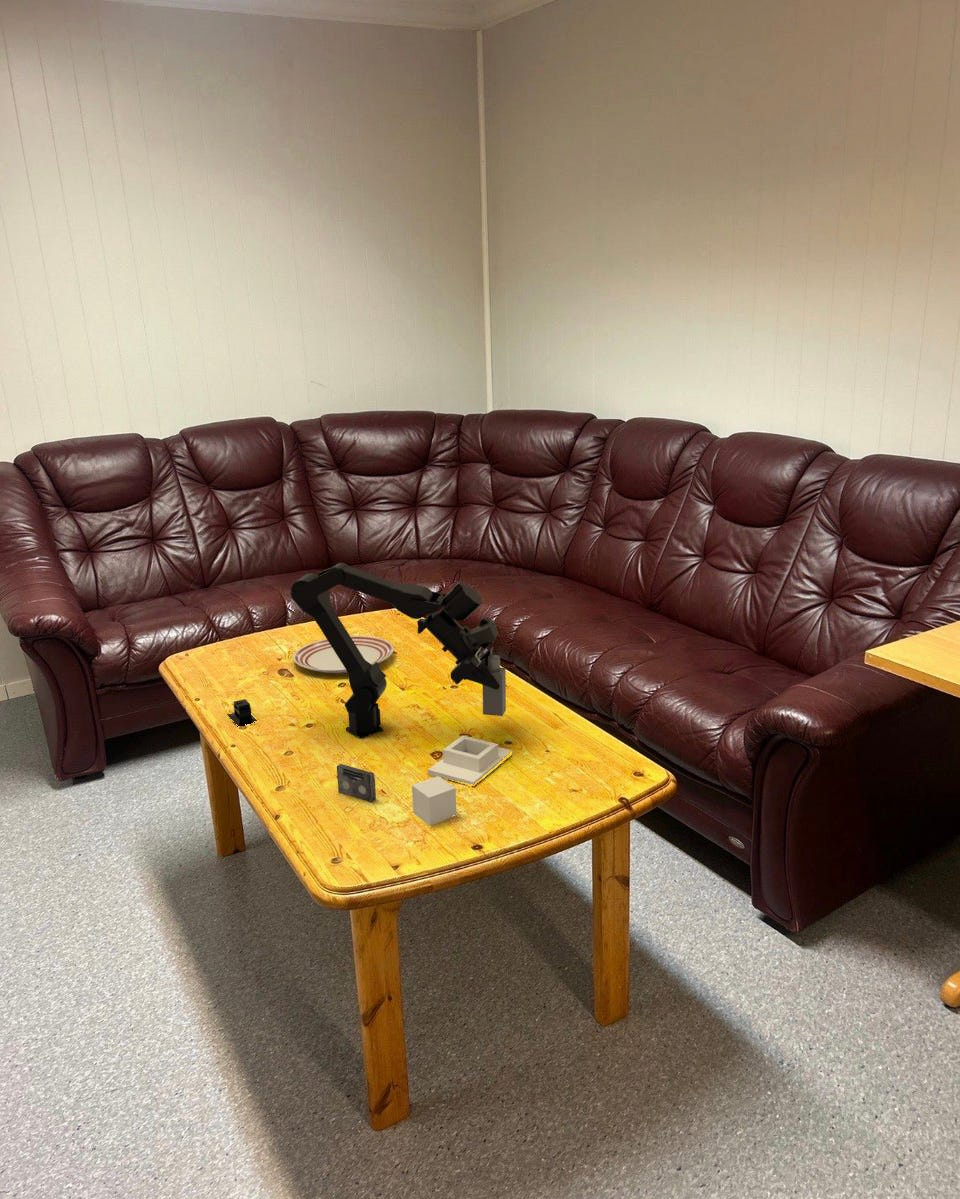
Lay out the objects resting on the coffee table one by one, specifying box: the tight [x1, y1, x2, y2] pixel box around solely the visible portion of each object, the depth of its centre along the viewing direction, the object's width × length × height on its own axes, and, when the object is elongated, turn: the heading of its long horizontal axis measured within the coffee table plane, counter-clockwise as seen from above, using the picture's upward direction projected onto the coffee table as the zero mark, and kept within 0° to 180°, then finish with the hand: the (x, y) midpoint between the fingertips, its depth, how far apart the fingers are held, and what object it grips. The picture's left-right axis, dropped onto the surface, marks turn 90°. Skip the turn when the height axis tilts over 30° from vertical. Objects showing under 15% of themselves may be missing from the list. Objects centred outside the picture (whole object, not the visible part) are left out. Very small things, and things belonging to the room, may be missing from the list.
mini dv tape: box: [336, 763, 377, 803], centre depth 183 cm, size 8×2×6 cm, turn 59°
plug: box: [482, 654, 507, 717], centre depth 203 cm, size 4×3×13 cm
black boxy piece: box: [226, 698, 257, 728], centre depth 220 cm, size 12×7×5 cm, turn 31°
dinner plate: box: [292, 635, 395, 674], centre depth 255 cm, size 27×27×3 cm
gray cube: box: [411, 776, 457, 827], centre depth 176 cm, size 6×6×6 cm
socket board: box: [427, 735, 512, 785], centre depth 195 cm, size 11×16×4 cm
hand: (500, 685), depth 202 cm, fingers closed on plug, 3 cm apart
